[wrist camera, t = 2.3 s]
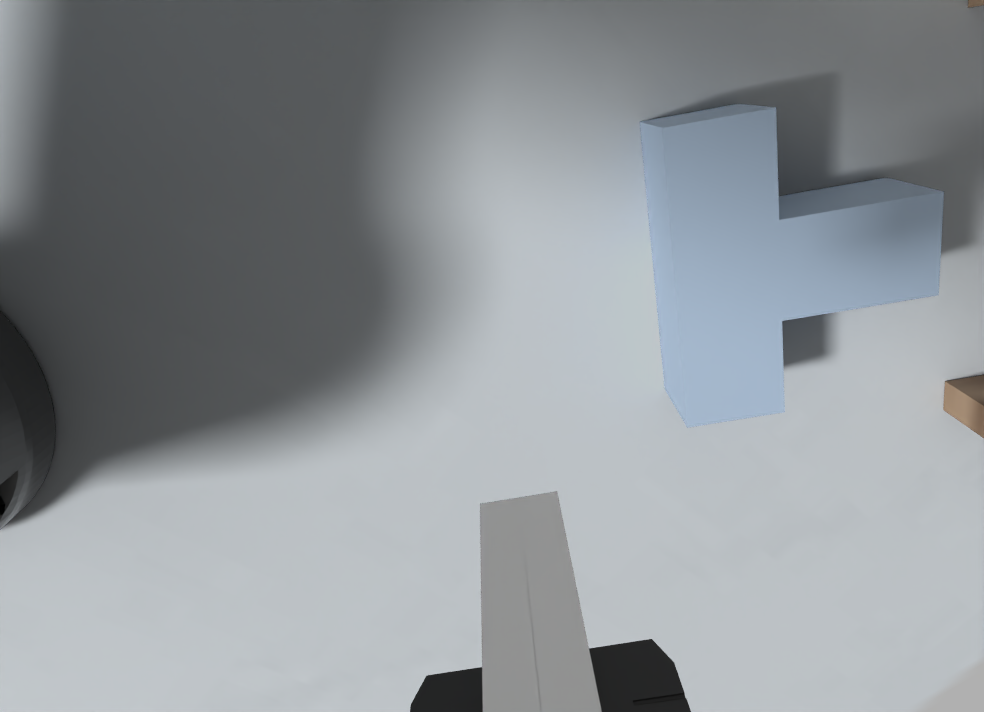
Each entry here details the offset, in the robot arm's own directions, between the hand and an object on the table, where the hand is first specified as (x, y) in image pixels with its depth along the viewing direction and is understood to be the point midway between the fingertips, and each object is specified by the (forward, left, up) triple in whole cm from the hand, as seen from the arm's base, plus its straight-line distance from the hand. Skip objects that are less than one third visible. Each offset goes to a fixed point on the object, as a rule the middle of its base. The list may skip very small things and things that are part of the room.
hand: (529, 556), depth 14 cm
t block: (+12, 0, -19) cm, 22 cm away
